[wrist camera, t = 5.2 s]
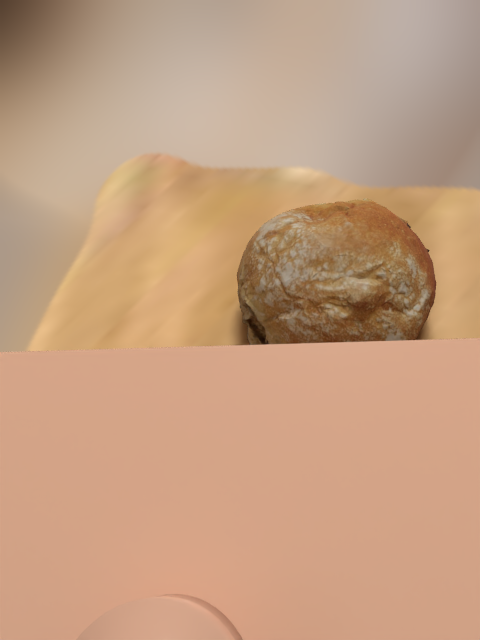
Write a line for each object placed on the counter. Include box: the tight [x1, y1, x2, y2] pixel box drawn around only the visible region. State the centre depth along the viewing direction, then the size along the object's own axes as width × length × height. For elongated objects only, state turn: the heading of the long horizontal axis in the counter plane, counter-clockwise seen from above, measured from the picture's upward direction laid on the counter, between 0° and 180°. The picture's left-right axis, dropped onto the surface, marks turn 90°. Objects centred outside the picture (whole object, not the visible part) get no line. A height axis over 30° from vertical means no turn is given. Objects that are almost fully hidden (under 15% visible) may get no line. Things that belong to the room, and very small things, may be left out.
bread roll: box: [237, 199, 436, 345], centre depth 23 cm, size 10×10×8 cm
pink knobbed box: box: [0, 338, 480, 640], centre depth 8 cm, size 7×7×10 cm
